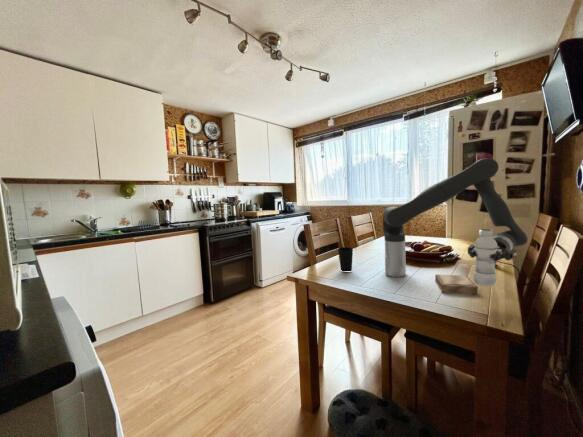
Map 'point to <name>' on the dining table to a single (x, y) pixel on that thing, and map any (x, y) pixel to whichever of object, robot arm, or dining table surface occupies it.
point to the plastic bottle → (485, 258)
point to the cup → (345, 258)
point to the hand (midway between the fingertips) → (483, 256)
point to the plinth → (456, 284)
